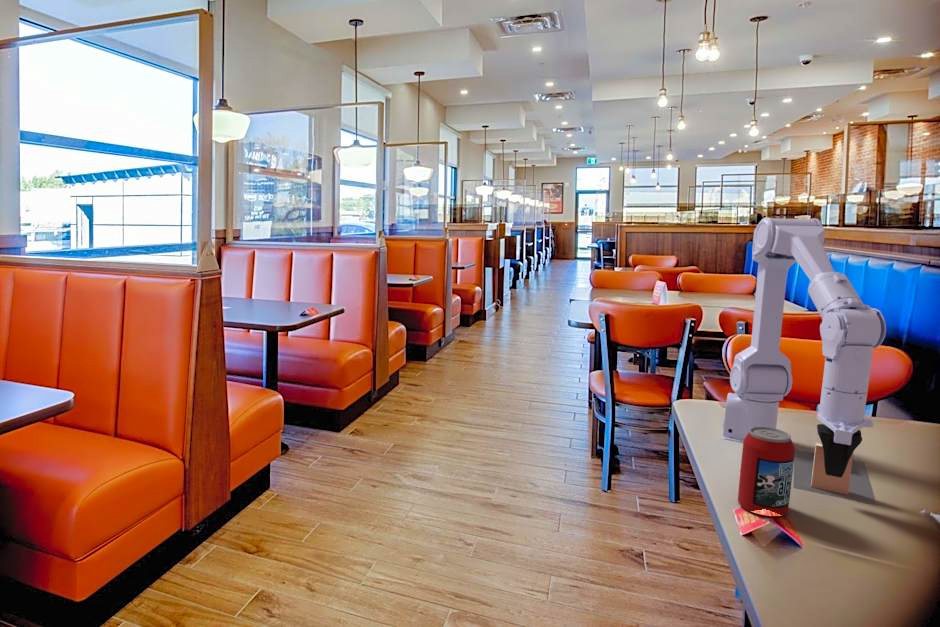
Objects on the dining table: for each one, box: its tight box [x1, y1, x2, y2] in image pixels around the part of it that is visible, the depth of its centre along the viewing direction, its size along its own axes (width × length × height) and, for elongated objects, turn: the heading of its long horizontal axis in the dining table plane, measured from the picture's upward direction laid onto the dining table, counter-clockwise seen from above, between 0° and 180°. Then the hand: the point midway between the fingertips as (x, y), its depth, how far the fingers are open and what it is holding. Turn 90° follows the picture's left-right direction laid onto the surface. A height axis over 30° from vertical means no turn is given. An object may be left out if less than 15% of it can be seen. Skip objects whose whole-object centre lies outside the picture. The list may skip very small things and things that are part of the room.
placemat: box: [793, 449, 877, 506], centre depth 98 cm, size 11×19×1 cm, turn 150°
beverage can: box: [737, 427, 796, 517], centre depth 85 cm, size 7×7×12 cm
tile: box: [811, 442, 854, 495], centre depth 92 cm, size 5×1×7 cm, turn 60°
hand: (833, 474), depth 88 cm, fingers closed
